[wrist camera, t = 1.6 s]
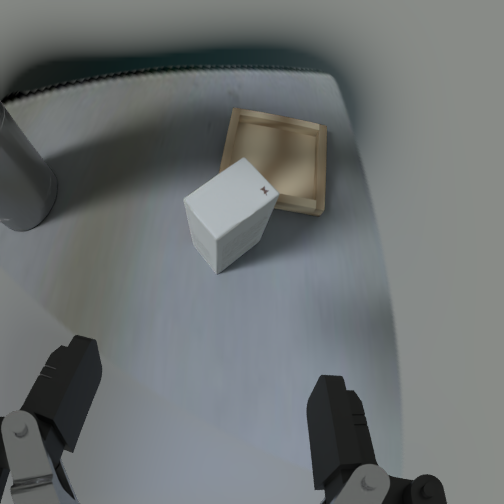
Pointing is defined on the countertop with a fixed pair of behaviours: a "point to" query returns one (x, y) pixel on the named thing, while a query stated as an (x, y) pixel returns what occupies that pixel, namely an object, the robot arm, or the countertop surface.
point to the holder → (281, 156)
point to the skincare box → (230, 213)
